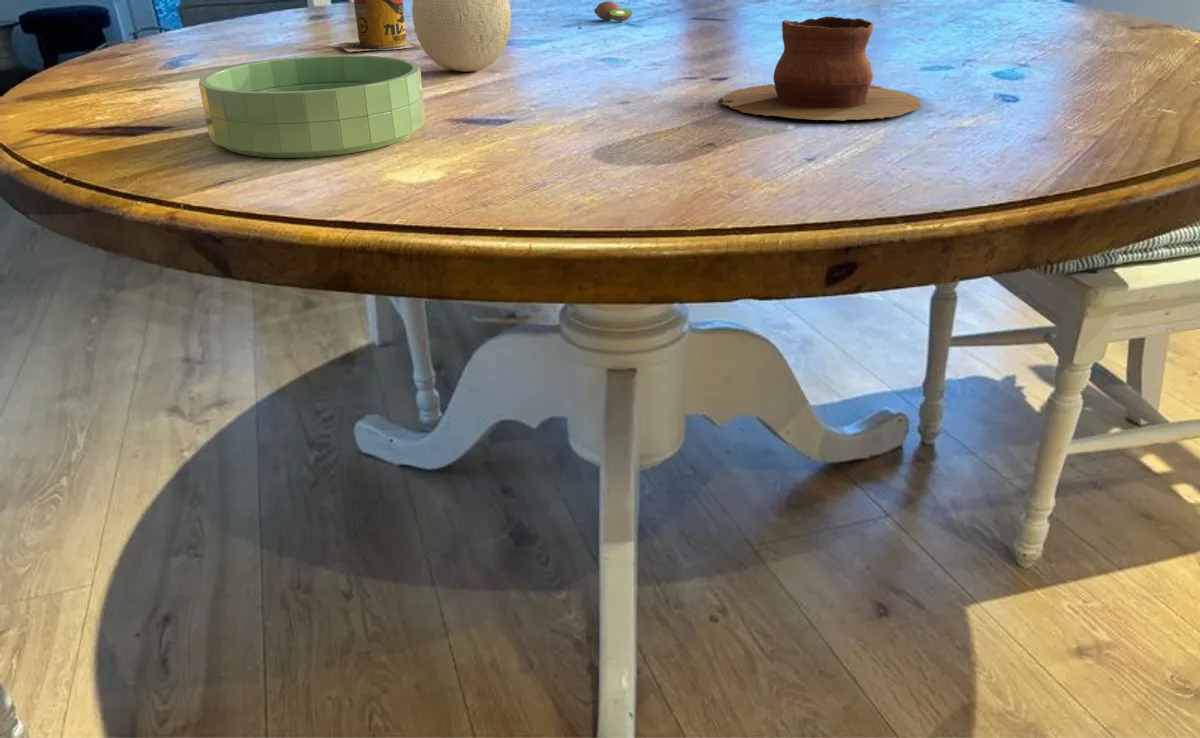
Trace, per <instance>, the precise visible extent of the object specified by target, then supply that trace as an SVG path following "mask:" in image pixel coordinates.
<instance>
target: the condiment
mask: <svg viewBox="0 0 1200 738" xmlns="http://www.w3.org/2000/svg"><path fill="white" fill-rule="evenodd" d="M353 7H354V13H355V23H356V28H357V38H358V41H356V42H348V41H347V42H338V43H337V44H338V46H339V47H340V48H341V49H343V50H344V51H346V52H347V53H353V52H363V51H388V50H400V49H410V48H415V47H416V45H414V44H411V43H409V42H408V41H406V40H407V33H406V32H407V31H406V20H405V11H404V2H403V0H353Z"/></svg>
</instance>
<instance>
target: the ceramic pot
mask: <svg viewBox="0 0 1200 738" xmlns="http://www.w3.org/2000/svg"><path fill="white" fill-rule="evenodd" d="M781 30H782V31H781V33H782V42H783V47H784V48H783V52H782V54H781V56H780V58H779V59H778V61H777V63H776V65H775V68H774V71H773V77H772V78H773V83H774V84H772V83H771V84H769V83H768V84H761V85H755V86H750V87H746V88H740V89H736V90H734V92H729V93H727V94H726V95H725V96H723V97H722V98H721V101H722V102H721V105H724V106H728V107H729V108H730V109H733V110H737V111H740V113H744V114H745V113H746V114H752V115H754V116H757V115H761V116H763V117H771V116H773V117H781V118H787V119H797V120H811V121H820V120H823V121H824V120H825V121H829V120H830V121H842V122H843V121H847V120H856V121H859V120H873V119H885V118H895V117H897V116H902V115H905V114H907V113H911V112H916V111H917V110H918V109H920V108H922V103H921V100H920V99H919V98H918V97H917V96H914V95H913V94H910V93H903V92H901V91H899V90H893V89H890V88H884V87H882V86H880V85H878V86H877V85H872V82H873V79H874V73H873V68H872V64H871V61H870V60H869V58H868V57H867V52H866V49H867V46H868V44H869V42H870V38H871V35H872V34H873V30H874V23H873V22H871V21H869V20H867V19H864V18H850V17H847V18H845V17H837V16H822V17H818V18H816V19H815V18H808V19H805V20H804V21H801V22H799V21H796V20H794V21H792V20H788V19H784V20H782V22H781Z"/></svg>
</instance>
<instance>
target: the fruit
mask: <svg viewBox="0 0 1200 738" xmlns="http://www.w3.org/2000/svg"><path fill="white" fill-rule="evenodd" d="M411 11H412V12H411V13H412V22H413V27H414V33H415V34H416V38H417V39H418V42H419V44H420V46H421V48H422V49H423V51H424V53H425V54H426V55H427V57H428V58H430V60H431V61H433V62H434V63H435V64H437V65H438V66H439V67H442V68H444V69H448V70H451V71H455V72H464V73H465V72H476V71H480V70H483V69H486V68H487V67H489V66H490V65H492V64H494V62H496V61H497V60H498V58H499V57H500V56H501V54H502V53H503V51H504V49H505V47H506V46H507V43H508V40H509V38H510V35H511V34H510V33H511V26H512V13H511V6H510V0H412V7H411Z"/></svg>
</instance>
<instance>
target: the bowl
mask: <svg viewBox="0 0 1200 738" xmlns="http://www.w3.org/2000/svg"><path fill="white" fill-rule="evenodd" d="M198 87H199V92H200V97H201V102H202V107H203V112H204V117H205V122H206V126H207V132H208V137H209V140H210V141H212V142H213V143H214V144H216V145H217V146H221V147H223V148H225V149H226V150H228V151H230V152H233V153H236V154H240V155H243V156H250V157H260V158H272V159H304V158H305V159H306V158H319V157H321V158H322V157H330V156H340V155H348V154H355V153H361V152H365V151H371V150H375V149H380V148H384V147H386V146H391V145H393V144H397V143H399V142H401V141H404V140H406V139H408V138H410V137H411V136H412V135H413V134H414V133H415V132H416V131H418V130H419V129H421V128H422V127H423V126H424V124H425V122H426V113H425V102H424V91H423V82H422V71H421V67H420V66H419V64H418V63H417V62H414V61H410V60H407V59H404V58H398V57H391V56H378V55H351V54H350V55H348V54H347V55H341V54H340V55H320V56H319V55H317V56H315V55H314V56H302V57H300V56H299V57H288V58H279V59H269V60H262V61H255V62H250V63H249V62H248V63H244V64H243V63H242V64H237V65H234V66H228V67H224V68H221V69H218V70H214V71H211V72H209V73H207V74H205V75H203V76H202V77H200V78H199V81H198Z"/></svg>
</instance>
